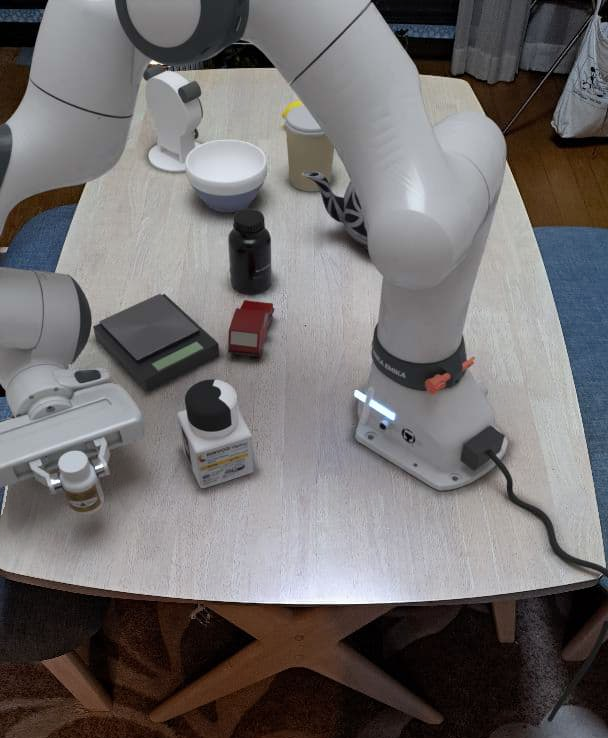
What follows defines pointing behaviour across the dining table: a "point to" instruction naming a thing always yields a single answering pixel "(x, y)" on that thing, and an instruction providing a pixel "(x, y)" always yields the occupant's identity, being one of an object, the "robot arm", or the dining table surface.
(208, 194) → the bowl
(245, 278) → the supplement bottle
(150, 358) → the scale
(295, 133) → the coffee cup
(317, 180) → the teapot
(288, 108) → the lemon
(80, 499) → the pill bottle
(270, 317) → the toy truck
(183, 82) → the white device on stand
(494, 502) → the dining table surface
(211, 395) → the container
